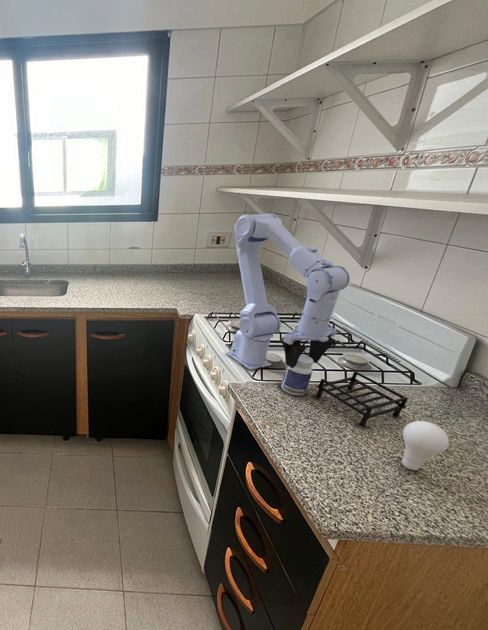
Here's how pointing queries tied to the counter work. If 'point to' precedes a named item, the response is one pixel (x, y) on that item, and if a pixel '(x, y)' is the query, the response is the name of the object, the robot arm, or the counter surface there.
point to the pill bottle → (298, 376)
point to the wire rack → (350, 389)
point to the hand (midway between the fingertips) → (301, 363)
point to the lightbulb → (422, 443)
